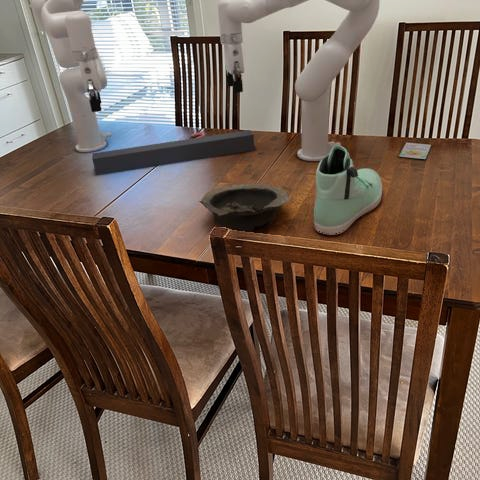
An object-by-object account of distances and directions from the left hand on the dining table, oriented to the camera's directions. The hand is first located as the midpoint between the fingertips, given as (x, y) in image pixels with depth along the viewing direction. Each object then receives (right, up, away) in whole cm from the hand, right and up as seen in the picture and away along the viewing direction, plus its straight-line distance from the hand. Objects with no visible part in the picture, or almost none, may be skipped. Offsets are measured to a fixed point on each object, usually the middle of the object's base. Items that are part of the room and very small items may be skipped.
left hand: (96, 107), depth 165 cm
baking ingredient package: (+112, -14, +7) cm, 113 cm away
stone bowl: (+51, -40, -27) cm, 70 cm away
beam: (+25, -15, +16) cm, 34 cm away
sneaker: (+81, -37, -26) cm, 92 cm away
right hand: (+47, +9, +9) cm, 49 cm away
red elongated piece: (+30, -5, +32) cm, 44 cm away
